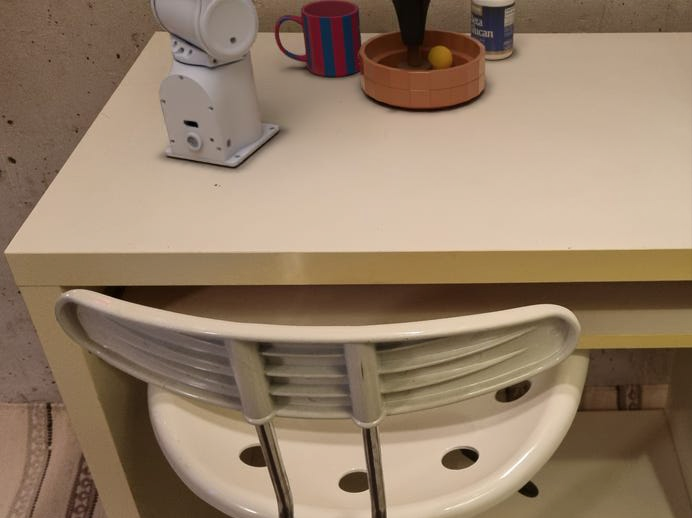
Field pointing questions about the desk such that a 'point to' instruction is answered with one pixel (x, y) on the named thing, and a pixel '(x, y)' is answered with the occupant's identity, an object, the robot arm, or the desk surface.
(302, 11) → the mug
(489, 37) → the pill bottle
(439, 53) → the ball
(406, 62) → the stick
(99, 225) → the desk surface
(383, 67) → the bowl
